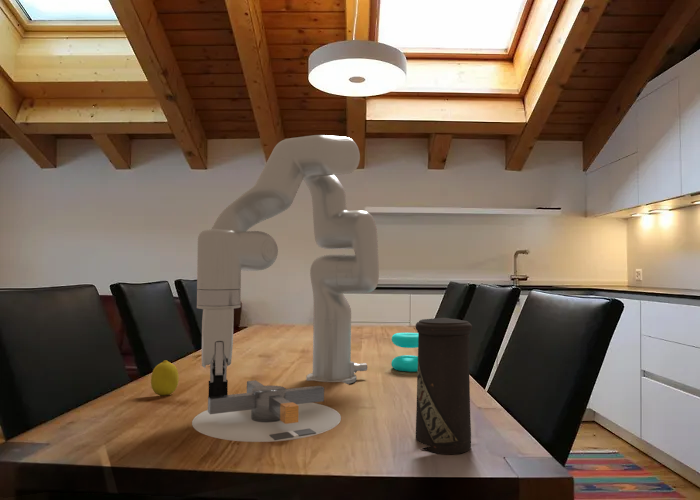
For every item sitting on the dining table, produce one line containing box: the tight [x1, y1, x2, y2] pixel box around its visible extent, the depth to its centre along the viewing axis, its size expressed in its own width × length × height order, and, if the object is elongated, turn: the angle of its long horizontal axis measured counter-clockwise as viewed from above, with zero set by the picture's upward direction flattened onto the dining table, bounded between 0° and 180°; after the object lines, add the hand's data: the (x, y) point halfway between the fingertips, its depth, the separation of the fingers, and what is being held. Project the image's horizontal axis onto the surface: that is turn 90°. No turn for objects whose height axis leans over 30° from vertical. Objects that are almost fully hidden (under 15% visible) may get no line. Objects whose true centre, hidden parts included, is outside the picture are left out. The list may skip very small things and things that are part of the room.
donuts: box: [390, 332, 418, 373], centre depth 144 cm, size 10×10×10 cm
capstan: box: [207, 379, 325, 424], centre depth 90 cm, size 22×21×5 cm
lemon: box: [150, 359, 180, 397], centre depth 107 cm, size 6×6×8 cm
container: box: [415, 317, 473, 455], centre depth 80 cm, size 9×9×20 cm
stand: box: [191, 402, 342, 443], centre depth 90 cm, size 26×26×1 cm
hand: (217, 403), depth 89 cm, fingers closed
